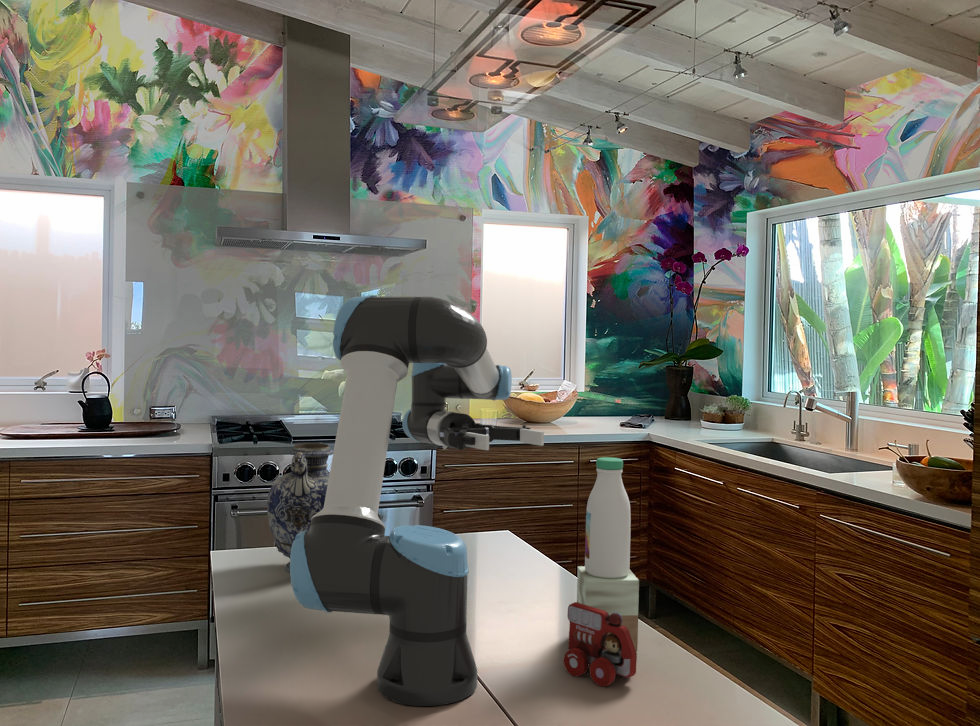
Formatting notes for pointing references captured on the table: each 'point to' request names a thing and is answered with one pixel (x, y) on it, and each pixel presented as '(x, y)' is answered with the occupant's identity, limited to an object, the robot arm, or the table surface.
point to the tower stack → (611, 597)
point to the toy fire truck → (598, 645)
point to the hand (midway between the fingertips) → (515, 440)
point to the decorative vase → (298, 495)
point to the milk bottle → (608, 523)
